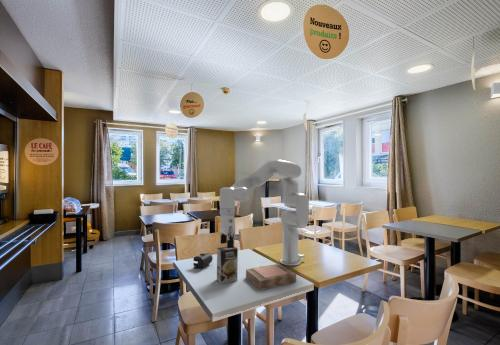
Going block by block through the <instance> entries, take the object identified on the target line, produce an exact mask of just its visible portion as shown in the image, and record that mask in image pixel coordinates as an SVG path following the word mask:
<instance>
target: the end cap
mask: <svg viewBox="0 0 500 345" xmlns="http://www.w3.org/2000/svg"><path fill="white" fill-rule="evenodd" d="M196 262H197V263H196ZM212 262H213V255H212V253H210V252H207V253H200V254H199V255H196V256H194V257H193V269H194V270H195V269H196V270H202V269H203V268H206V267H207V266H208V265H209V264H211V263H212Z"/></svg>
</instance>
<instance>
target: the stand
mask: <svg viewBox="0 0 500 345" xmlns="http://www.w3.org/2000/svg"><path fill="white" fill-rule="evenodd" d="M245 278H246V279H247V280H249V281H250V283H252V284H253V285H254V286H255V287H256V288H258V289H259V290H260V291H261V290H262V291H263V290H265V289H270V288H274V287H279V286H284V285H289V284H293V283H297V274H296V273H295V272H294V271H292V270H290V269H288V268H287V267H286V266H283V264H281V263H276V264H271V265H270V264H269V265H264V266H258V267H253V268H247V269H245Z"/></svg>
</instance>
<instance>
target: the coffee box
mask: <svg viewBox="0 0 500 345" xmlns="http://www.w3.org/2000/svg"><path fill="white" fill-rule="evenodd" d="M238 251H239V250H238V247H235V246H234V247H233V248H227V246H222V247H217V249H216V252H217V253H216V254H217V255H216V280H217V281H218V282H219V284H221V285H222V284H225V283H226V284H227V283H231V282H235V281H238V270H239V269H238V268H239V267H238V266H239V265H238V262H239V261H238V260H239V259H238V256H239V255H238V254H239V252H238Z"/></svg>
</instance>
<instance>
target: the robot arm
mask: <svg viewBox="0 0 500 345" xmlns="http://www.w3.org/2000/svg"><path fill="white" fill-rule="evenodd" d="M301 175H302V168H301V166H300V165H299V164H297V163H294V162H291V161H288V160H287V161H286V160H285V159H284V160H282V159H274V160H273V159H272V160H268V161H266V162H265V163H264V164H262V165H261V166H260V167H258V168H257V169H256V170H255V171H253V172H252V173H250V174H248V175H246V176H244V177H243V178H240V179H238V180H237V181H235V183H233V184H232V185H231V186H230V187H225V186H224V187H221V188H220V189H219V215H220V222H219V223H220V227H219V229H220V244H222V245H223V244H227V246H226V247H227V248H233V247H235V244H234V242H235V241H234V240H235V235H236V220H235V219H236V218H235V210H236V209H235V208H236V206H235V205H236V203H235V202H246V201H248V200H250V198H251V191H250V189H254V188H258V187H261V186H263V185H264V184H265V183H266V182H268V181H269V180H271V178H272V177H274V176H278V178H279V179H280V180H281V181H282V183H283V204H284V206H285V207H286V208H289V209H286V210H284V211H283V212H282V213H281V215H280V222H281V223H280V224H281V226H282V227H281V229H282V258H280V259H279V261H280V264H281V265H285V266H288V267H289V266H294V267H295V266H299V265H301V263H302V260H301V259H305V257H306V256H305V254H300V253H299V230H298V229H305V228H306V227H307V226H308V223H309V219H310V218H309V217H310V215H309V214H310V200H309V198H308V196H307V194H305V193H303V192H302V193H301V192H299V183H298V181H297V179H299V177H300V176H301ZM290 209H294V210H290Z"/></svg>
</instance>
